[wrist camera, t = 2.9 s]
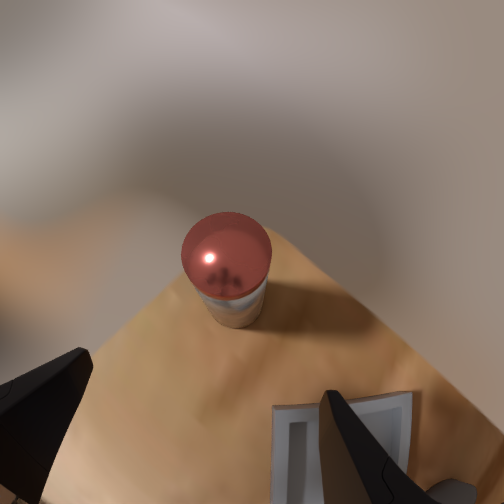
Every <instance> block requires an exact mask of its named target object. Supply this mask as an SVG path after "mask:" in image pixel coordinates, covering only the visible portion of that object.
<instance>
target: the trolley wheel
mask: <svg viewBox="0 0 504 504" xmlns="http://www.w3.org/2000/svg"><path fill="white" fill-rule="evenodd" d="M426 493H427V494H428V495H429V496H430V497H431V498H433V499H434V500H436V501H438V502H440V503H443V504H475V502H476V498H477V490H476V488H475V486H473V485H471V484H468V483H464V482H461V481H459V480H456V479H447V480H444V481H441V482H439V483H437V484H436V485H434V486H433V487H431V488H430V489H429V490H427V491H426Z"/></svg>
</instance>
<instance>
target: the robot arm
mask: <svg viewBox="0 0 504 504" xmlns="http://www.w3.org/2000/svg"><path fill="white" fill-rule="evenodd" d="M92 370H93V362H92V360H91V357H90V354H89V352H88V350H87V349H84V348H81V347H78V348H76V349H74V350H72V351H70V352H68V353H66V354H64V355H62V356H60V357H58V358H56V359H54V360H52V361H50V362H48V363H45V364H43V365H41V366H39V367H37V368H35V369H33V370H31V371H29V372H27V373H25V374H23V375H21V376H19V377H17V378H15V379H14V380H11V381H9V382H7V383H4V384H2V385H0V504H17V502H16V501H15V498H16V496H18V497H19V498H21V499H22V500H24V501H25V502H27V503H29V504H39V501H40V498H41V495H42V492H43V489H44V487H45V484H46V481H47V478H48V476H49V472H50V470H51V467H52V465H53V462H54V460H55V457H56V455H57V453H58V450H59V448H60V445H61V443H62V441H63V438H64V436H65V434H66V432H67V429H68V427H69V425H70V423H71V421H72V419H73V416H74V414H75V412H76V410H77V408H78V406H79V404H80V402H81V399H82V397H83V395H84V392H85V389H86V386H87V384H88V381H89V378H90V376H91V373H92ZM319 455H320V464H321V474H322V485H323V497H324V504H443V503H440V502H438V501H436V500H434V499H433V498H431V497H430V496H429V495H428V494H427V493H426V492H425V491H423V490H422V489H421V488H420V487H419V486H418V485H417V484H416V483H415V482H413V481H412V480H411V479H410V478H409V477H408V476H407V475H406V474H405V473H404V472H403V471H402V470H401V468H400V467H399V466H398V465H397V464H396V463H395V462H394V460H393V459H392V458H391V457H390V456H388V455H389V454H388V453H387V452H386V451H385V449H384V448H383V447H382V446H381V445H380V443H379V442H378V441H377V440H376V438H375V437H374V436H373V435H372V433H371V432H370V431H369V430H368V428H367V427H366V426H365V425H364V423H363V422H362V421H361V420H360V418H359V417H358V416H357V415H356V413H355V412H354V411H353V410H352V408H351V407H350V406H349V404H348V403H347V402H346V401H345V399H344V398H343V397H342V396H341V394H340V393H339V392H338V391H337V390H326V391H325V393H324V395H323V397H322V400H321V402H320V405H319ZM501 504H504V502H503V503H501Z"/></svg>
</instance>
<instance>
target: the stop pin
mask: <svg viewBox="0 0 504 504" xmlns="http://www.w3.org/2000/svg"><path fill="white" fill-rule="evenodd" d="M271 257H272V247H271V242H270V239H269V237H268V235H267V233H266V231H265V230H264V229H263V227H262V226H261V225H260V224H259V223H257V222H256V221H255V220H254V219H252V218H250V217H248V216H246V215H243V214H240V213H234V212H222V213H216V214H213V215H210V216H208V217H206V218H204V219H202V220H200V221H199V222H198V223H196V224H195V225H194V226H193V227H192V228H191V230H190V231H189V232H188V234H187V235H186V237H185V239H184V243H183V246H182V252H181V259H182V264H183V268H184V270H185V272H186V274H187V276H188V277H189V279H190V281H191V282H192V284H193V286H194V287H195V289H196V291H197V292H198V294H199V295H200V297H201V299H202V300H203V302H204V303H205V305H206V306H207V308H208V310H209V311H210V313H211V314H212V316H213V317H214V319H215V320H216V321H217V322H218V323H220V324H221V325H223V326H226V327H229V328H242V327H245V326H248V325H249V324H251V323H252V322H254V321H255V320H256V319H257V317H258V316H259V314H260V312H261V309H262V304H263V299H264V294H265V289H266V284H267V278H268V273H269V268H270V263H271Z"/></svg>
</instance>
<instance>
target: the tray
mask: <svg viewBox="0 0 504 504" xmlns="http://www.w3.org/2000/svg"><path fill="white" fill-rule="evenodd" d="M345 401H346V402H347V403H348V404H349V406H350V407H351V408H352V410H353V411H354V412H355V413H356V415H357V416H358V417H359V418H360V420H361V421H362V422H363V423H364V425H365V426H366V427H367V428H368V430H369V431H370V432H371V433H372V435H373V436H374V437H375V438H376V440H377V441H378V442H379V443H380V445H381V446H382V447H383V448H384V449H385V451H386V452H387V453H388V454H389V455H388V456H390V457H391V458H392V459H393V460H394V462H395V463H396V464H397V465H398V466H399V467H400V468H401V470H402V471H403V472H404V473H405V474H406V473H407V466H408V458H409V448H410V437H411V421H412V392H401V391H396V392H392V393H386V394H381V395H376V396H370V397H364V398H357V399H350V400H345ZM319 405H320V403H312V404H297V405H272V451H271V488H270V504H324V497H323V485H322V474H321V464H320V455H319Z"/></svg>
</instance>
